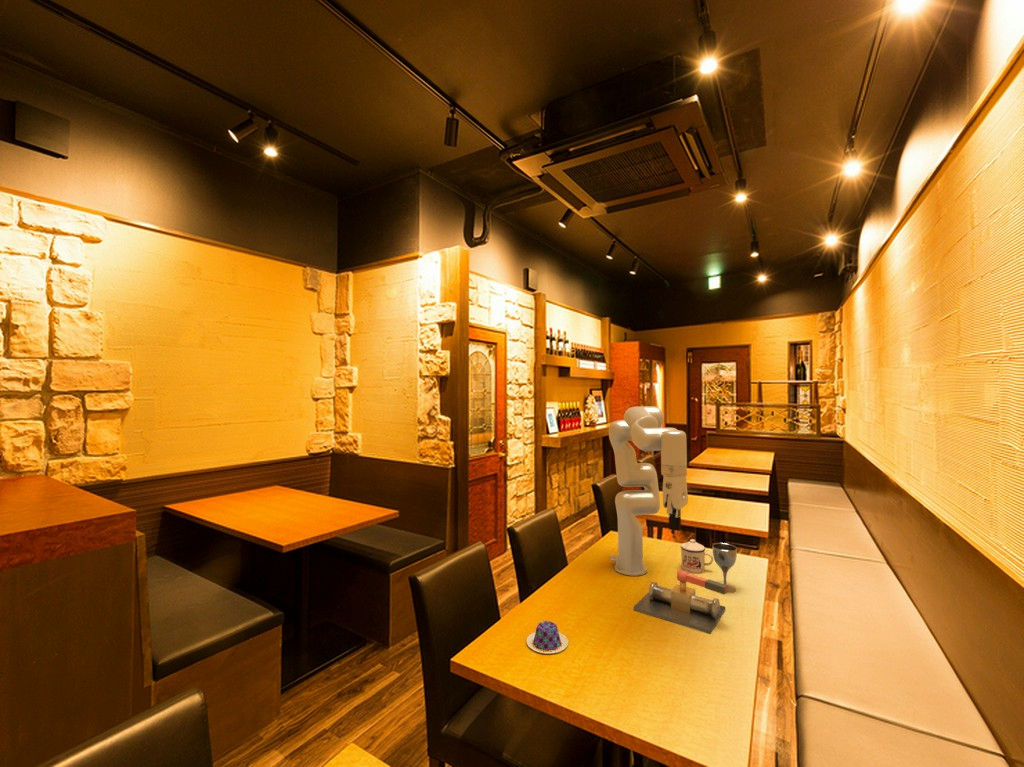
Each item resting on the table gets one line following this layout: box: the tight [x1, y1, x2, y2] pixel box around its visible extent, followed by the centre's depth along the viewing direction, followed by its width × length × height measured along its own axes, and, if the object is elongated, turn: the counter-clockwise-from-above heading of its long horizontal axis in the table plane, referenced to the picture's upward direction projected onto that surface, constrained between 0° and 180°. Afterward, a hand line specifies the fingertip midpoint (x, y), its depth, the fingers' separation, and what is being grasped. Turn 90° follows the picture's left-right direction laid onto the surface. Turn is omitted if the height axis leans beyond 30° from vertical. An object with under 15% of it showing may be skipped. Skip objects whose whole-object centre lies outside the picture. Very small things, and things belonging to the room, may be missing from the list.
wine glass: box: [712, 542, 738, 593], centre depth 163 cm, size 8×8×15 cm
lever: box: [676, 569, 729, 595], centre depth 143 cm, size 16×4×2 cm, turn 41°
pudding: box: [526, 620, 569, 654], centre depth 130 cm, size 12×12×5 cm
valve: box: [632, 581, 726, 634], centre depth 148 cm, size 24×18×10 cm
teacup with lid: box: [680, 538, 714, 574], centre depth 180 cm, size 12×9×12 cm
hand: (674, 529), depth 140 cm, fingers closed
